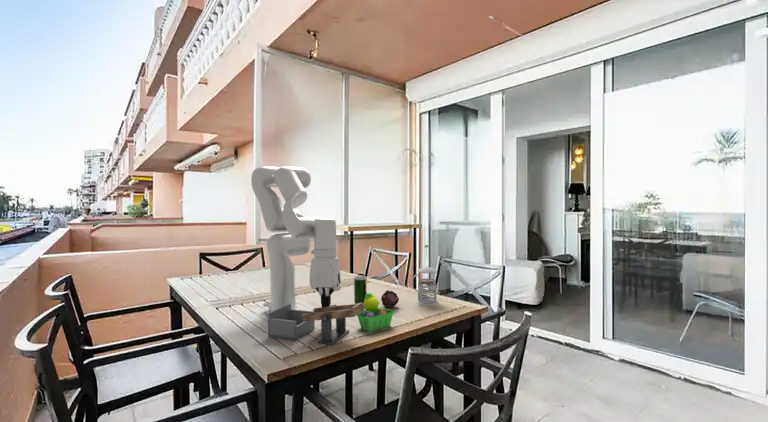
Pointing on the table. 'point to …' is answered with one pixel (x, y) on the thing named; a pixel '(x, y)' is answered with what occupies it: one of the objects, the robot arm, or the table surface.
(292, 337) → the bin
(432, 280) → the french press
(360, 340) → the table surface
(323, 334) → the lever stand
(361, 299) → the beer can
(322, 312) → the lever
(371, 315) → the fruit basket
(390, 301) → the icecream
